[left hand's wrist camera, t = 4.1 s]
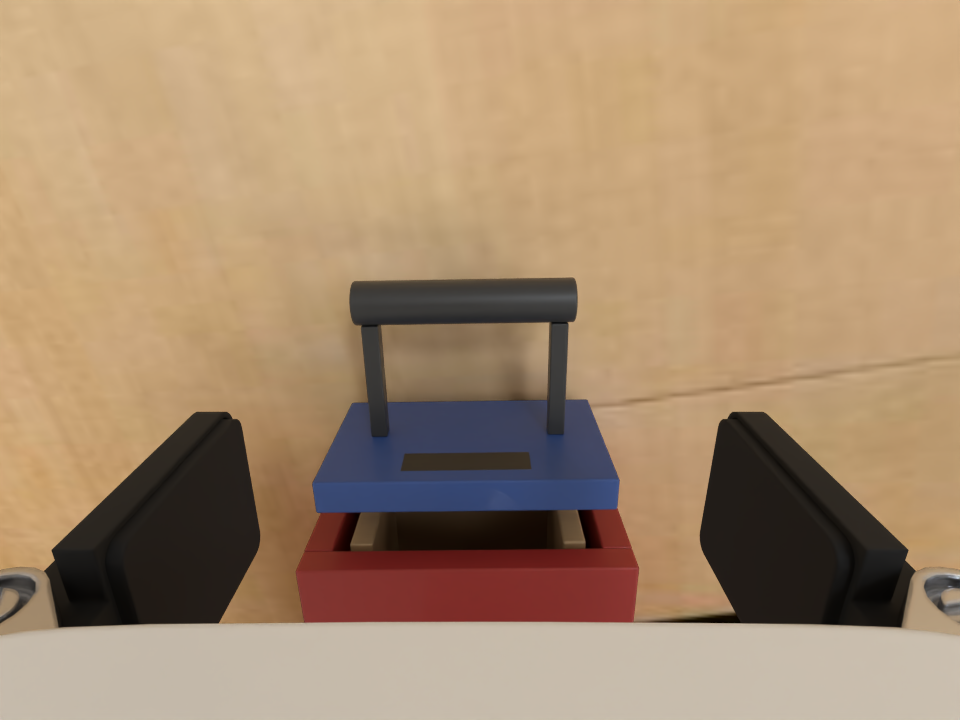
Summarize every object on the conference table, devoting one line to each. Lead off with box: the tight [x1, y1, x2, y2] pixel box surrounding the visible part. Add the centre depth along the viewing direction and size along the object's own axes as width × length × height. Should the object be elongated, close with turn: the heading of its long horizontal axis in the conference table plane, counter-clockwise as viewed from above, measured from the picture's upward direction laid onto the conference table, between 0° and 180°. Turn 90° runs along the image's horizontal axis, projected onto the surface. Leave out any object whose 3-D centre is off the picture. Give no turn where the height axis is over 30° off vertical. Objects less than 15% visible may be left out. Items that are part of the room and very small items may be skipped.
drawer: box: [312, 278, 620, 551], centre depth 23 cm, size 25×10×6 cm, turn 1°
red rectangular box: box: [296, 509, 639, 623], centre depth 26 cm, size 20×11×8 cm, turn 1°
